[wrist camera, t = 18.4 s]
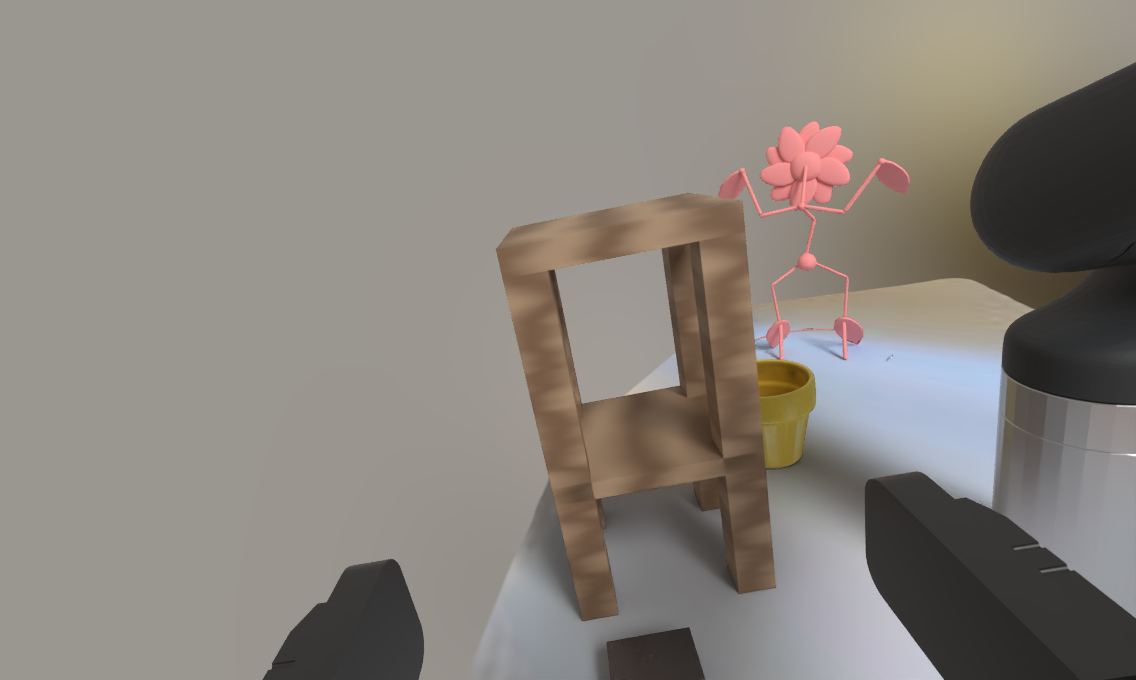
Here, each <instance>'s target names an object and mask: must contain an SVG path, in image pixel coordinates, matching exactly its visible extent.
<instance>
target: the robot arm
mask: <svg viewBox="0 0 1136 680" xmlns="http://www.w3.org/2000/svg"><path fill="white" fill-rule="evenodd" d="M970 210H971V217H972V222H973V225H974V228H975V230H976V232H977V233H978V235H979V237H980V239H981V240H982V241H983V243H984V244H985V245H986V246H987V248H988V249H989V250H990V251H992V252H993V253H994V254H995V255H997V256H998V257H999V258H1001V259H1003V260H1004V261H1006V262H1008V263H1010V264H1012V265H1015V266H1018V267H1021V268H1024V269H1027V270H1032V271H1040V272H1049V273H1060V272H1076V271H1085V270H1092V269H1093V270H1092V272H1091V273H1090V274H1089V275H1088V276H1087V277H1086V278H1085V280H1083V281H1082V282H1081V283H1080V284H1079V285H1077V286H1076V287H1075V288H1073V289H1072V290H1071V291H1069V292H1068V293H1066V294H1064V295H1063V296H1061V297H1059V298H1058V299H1056V300H1054V301H1052V302H1050V303H1048V304H1046V305H1044V306H1042V307H1040V308H1038V309H1036V310H1033V311H1031V312H1029V313H1027V314H1025V315H1023V316H1021V317H1020V318H1018V319H1017V320H1015V321H1014V322H1013V323H1012V324H1011V325H1010V326H1009V328H1008V329H1007V331H1006V333H1005V336H1004V342H1003V351H1002V365H1001V380H1000V395H999V412H998V427H997V442H996V457H995V471H994V486H993V501H992V510H991V509H989V508H987V507H985V506H983V505H981V504H978V503H976V502H974V501H972V500H970V499H968V498H960V499H954V498H953V497H951V496H950V495H949V494H948V493H947V492H945V491H944V490H943V489H942V488H941V487H940V486H938V485H937V484H936V483H935V482H934V481H932V480H931V479H930V478H929V477H928V476H926V475H925V474H923V473H921V472H910V473H904V474H899V475H893V476H887V477H881V478H875V479H870V480H868V482H867V483H866V486H865V534H866V559H867V564H868V568H869V571H870V574H871V577H872V579H873V581H874V584H875V585H876V587H877V589H878V591H879V593H880V594H881V596H882V597H883V598H884V600H885V601H886V603H887V604H888V605H889V607H890V608H891V609H892V611H893V612H894V613H895V615H896V616H897V617H898V619H899V620H900V621H901V623H902V624H903V625H904V627H905V628H906V629H907V631H908V632H909V633H910V635H911V636H912V637H913V639H914V640H915V641H916V643H917V644H918V645H919V647H920V648H921V649H922V651H923V652H924V653H925V655H926V656H927V657H928V659H929V660H930V661H931V663H932V664H933V665H934V667H935V668H936V669H937V671H938V672H939V673H940V675H941V676H942V677H943V679H944V680H1136V63H1133V64H1131V65H1129V66H1127V67H1125V68H1123V69H1121V70H1119V71H1117V72H1115V73H1113V74H1111V75H1109V76H1106V77H1104V78H1102V79H1100V80H1098V81H1096V82H1094V83H1092V84H1090V85H1088V86H1086V87H1084V88H1082V89H1079V90H1077V91H1075V92H1073V93H1071V94H1069V95H1067V96H1065V97H1062V98H1060V99H1058V100H1056V101H1054V102H1052V103H1050V104H1048V105H1046V106H1044V107H1042V108H1039V109H1038V110H1036V111H1034V112H1032V113H1030V114H1028V115H1027V116H1025V117H1024V118H1022V119H1021V120H1019V121H1018V122H1017V123H1015V124H1014V125H1013V126H1012V127H1011V128H1009V129H1008V130H1007V131H1006V132H1005V133H1004V134H1003V135H1002V136H1001V137H1000V138H999V139H998V141H997V142H996V143H995V144H994V145H993V147H992V148H991V150H990V151H989V152H988V154H987V155H986V157H985V159H984V160H983V162H982V165H981V167H980V169H979V171H978V173H977V175H976V177H975V180H974V184H973V187H972V193H971V201H970ZM423 655H424V639H423V631H422V626H421V623H420V620H419V618H418V615H417V612H416V610H415V607H414V604H413V601H412V598H411V596H410V593H409V590H408V587H407V585H406V582H405V579H404V576H403V574H402V571H401V568H400V566H399V564H398V563H397V562H396V561H395V560H393V559H390V560H383V561H377V562H371V563H365V564H360V565H354V566H349V567H348V568H346V569H345V570H344V572H343V574H342V575H341V577H340V579H339V581H338V583H337V584H336V586H335V588H334V590H333V592H332V594H331V596H330V597H329V600H328V601H327V602H326V603H320V604H317V605H316V606H315V607H314V608H313V609H312V610H311V611H310V612H309V613H308V614H307V615H306V616H305V617H304V619H302V620H301V622H300V623H299V624H298V625H297V626H296V627H295V628H294V629H293V630H292V631H291V632H290V634H289V635H288V637H287V639H286V640H285V642H284V644H283V646H282V647H281V649H280V651H279V652H278V654H277V656H276V658H275V659H274V661H273V663H272V669H271V670H268V671H267V673H266V675H265V677H264V678H263V680H418V679H419V675H420V672H421V668H422V663H423Z"/></svg>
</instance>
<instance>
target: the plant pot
mask: <svg viewBox="0 0 1136 680" xmlns="http://www.w3.org/2000/svg"><path fill="white" fill-rule="evenodd" d="M756 364H757V375H758V387H759V398H760V410H761V422H762V433H763V445H764V456H765V468H782V467H786V466H790V465H792V464H794V463H796V462H797V461H798V460H799V459H800V458H801V456H802V452H803V446H804V440H805V434H806V428H807V422H808V416H809V413H810V412H811V411H812V410H813V409H814V407H815V404H816V388H815V378H814V374H813V373H812V371H811V370H810V369H809V368H807V367H806V366H804V365H802V364H799V363H796V362H793V361H787V360H779V359H763V360H756Z"/></svg>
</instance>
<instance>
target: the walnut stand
mask: <svg viewBox="0 0 1136 680" xmlns="http://www.w3.org/2000/svg"><path fill="white" fill-rule="evenodd" d="M661 248H662V254H663V262H664V269H665V277H666V284H667V291H668V299H669V306H670V313H671V321H672V328H673V336H674V343H675V350H676V358H677V365H678V372H679V380H680V386H676V387H670V388H665V389H659V390H654V391H649V392H643V393H638V394H633V395H627V396H622V397H617V398H611V399H606V400H601V401H595V402H590V403H585V404H582V403H581V398H580V393H579V388H578V383H577V378H576V373H575V368H574V363H573V358H572V354H571V348H570V343H569V338H568V333H567V329H566V323H565V319H564V313H563V308H562V303H561V299H560V294H559V289H558V284H557V279H556V274H555V269H558V268H564V267H569V266H574V265H579V264H584V263H590V262H594V261H600V260H605V259H610V258H615V257H620V256H625V255H630V254H635V253H640V252H646V251H651V250H656V249H661ZM496 252H497V256H498V260H499V265H500V269H501V273H502V278H503V282H504V286H505V290H506V295H507V299H508V303H509V308H510V312H511V316H512V321H513V325H514V329H515V333H516V338H517V342H518V346H519V350H520V355H521V359H522V364H523V368H524V372H525V376H526V381H527V385H528V389H529V394H530V398H531V402H532V406H533V411H534V415H535V419H536V424H537V428H538V432H539V436H540V441H541V445H542V449H543V453H544V458H545V462H546V467H547V470H548V475H549V479H550V484H551V488H552V492H553V497H554V501H555V505H556V509H557V514H558V518H559V522H560V527H561V531H562V535H563V540H564V544H565V548H566V552H567V557H568V561H569V565H570V570H571V574H572V578H573V582H574V587H575V591H576V595H577V600H578V604H579V608H580V612H581V617H582V621H585V620H591V619H597V618H603V617H608V616H614V615H618V609H617V602H616V595H615V588H614V583H613V578H612V573H611V568H610V564H609V559H608V554H607V549H606V544H605V539H604V534H603V529H605V528H606V527H605V520H604V513H603V508H602V503H601V498H605V497H611V496H616V495H622V494H627V493H633V492H638V491H644V490H649V489H655V488H661V487H666V486H672V485H677V484H683V483H688V482H693V483H694V490H695V495H696V497H697V499H698V502H699V504H700V506H701V509H702V511H706V510H711V509H717V508H720V509H721V517H722V525H723V534H724V542H725V550H726V559H727V567H728V570H729V572H730V574H731V576H732V579H733V581H734V583H735V586H736V588H737V590H738V592H739V594H742V593H747V592H753V591H759V590H765V589H771V588H776V584H775V572H774V561H773V549H772V538H771V526H770V514H769V503H768V491H767V480H766V468H765V456H764V445H763V433H762V422H761V410H760V398H759V387H758V375H757V364H756V352H755V341H754V329H753V317H752V306H751V295H750V283H749V272H748V261H747V260H748V259H747V248H746V236H745V225H744V213H743V203H742V201H740V200H734V199H727V198H720V197H713V196H705V195H699V194H692V193H686V194H682V195H676V196H671V197H666V198H661V199H656V200H651V201H646V202H641V203H636V204H630V205H625V206H620V207H616V208H610V209H605V210H601V211H595V212H590V213H585V214H580V215H575V216H570V217H565V218H561V219H555V220H550V221H545V222H540V223H535V224H530V225H525V226H520V227H515V228H512V229H511V230H510V232H509V233H508V234H507V236H506V237H505V238H504V239H503V241H502V242H501V244H500V245H499V246H498V247H497V249H496Z"/></svg>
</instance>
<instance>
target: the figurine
mask: <svg viewBox="0 0 1136 680" xmlns="http://www.w3.org/2000/svg"><path fill="white" fill-rule="evenodd" d="M841 132H842V131H841V129H840V127H836V126H832V127H826V128H824V129H822V130H819V124H818V123H817V122H811V123H809V124H807V125H806V126H805V127H804V128H802V130H801V131H800V133H799V134H798V133H797V132H796V131H795V130H794V129H792V128H790V127H785V128H783V130H782V131H781V133H780V136H779V139H778V147H769V148H768V149H767V150H766V157H767V161H768V162H769V164H770V165H771V166H769V167H767V168H765V169H764V170H763V171H762V172H761V173H760V178H761V179H762V181H764V182H765V183H767V184H769V185H773V186H775V187H774V188H773V189H772V190H771V198H772V200H775V201H779V200H786V199H790V205H791V207H789V208H785V209H781V210H777V211H772V212H768V213H764V214H762V212H761V209H760V207H759V205H758V202H757V200H756V198H755V195H754V193H753V191H752V188H751V186H750V184H749V182H748V179H747V174H746V173H745V169H744V168H741V169H740V170H739V171H736V172H734V173H732V174H731V175H730V176H729V177H728V178H727V179H726V180H725V181H724V183H723V184H722V185H721V187H720V191H719V194H718V196H719V197H720V198H727V199H734V198H736V197H737V196H738V195H739V194H740V192H741V191H742V190H743V188H744V186H745V184H746V186H747V188H748V191H749V193H750V195H751V198H752V200H753V202H754V204H755V207H756V209H757V211H758V214H759V215H760V214H762V215H761V218H762V217H766V216H770V215H774V214H779V213H783V212H787V211H790V210H796V211H797V210H800V211H802V210H803V212H804V213H805V214H806V215H807V216H808V217H809V218H810V219H811V220H812V223H811V228H810V233H809V238H808V243H807V248H806V253H804V254H803V255H801V256H800V257H799V259H798V265H797V266H795V267H794V268H793V269H791V270H790V271H788V272H787V273H786V274H785V275H783V276H782V277H781V278H779V279H778V280H777V281H775V282H774V283H773V284H772V286H771V289H772V294H773V299H774V304H775V309H776V314H777V319H778V322H776V323H774V324H773V326H772V327H771V328H770V329H769V330H768V332H767V335H766V336H764V337H766V338H767V341H768V343H769V344H770V346H771V347H772V348H774V347H776V346H777V345H778V344H779V350H780V360H783V340H784V339H785V338H786V337H787V335H788V334H789V332H794V331H790V325H789V322H788V321H786V320H783V321H781V320H780V316H779V311H778V306H777V301H776V296H775V291H774V286H773V285H775V284H776V283H777V282H779V281H780V280H781V279H783V278H784V277H786V276H787V275H788V274H790V273H791V272H792V271H794V270H795V269H796V268H798V267H799V268H800V269H801V270H804V271H809V270H812V269H813V268H814V267H815V265H817V266H820V267H822V268H824V269H827V270H829V271H831V272H833V273H836V274H838V275H840V276H843V277H845V278H846V288H845V302H844V316H843V318H842V319H841V318H838V319H837V320H835V324H834V329H813V328H811V329H809V330H835V331H836V333H837V334H838V335H839V336H840V337H841V338H843V359H847V341H849V342H851V343H854V344H857V345H858V343H859V342H860V340H861V338H862V337H863V328H862V327H861V326H860V324H859V323H857V322H856V321H854V320H853V319H851V318H846V313H847V298H848V284H849V278H847V277H848V276H846V275H844V274H842V273H840V272H837V271H835V270H833V269H830V268H828V267H826V266H823V265H821V264H819V263H817V262H816V258H815V257H814V256H813V255H812V254H809V253H808V251H809V247H810V243H811V239H812V235H813V231H814V227H815V223H816V221H815V219H816V218H815V217H814V216H812V214H811V213H809V212H808V211H807V210H806V209H805V208H807V209H812V210H819V211H826V212H832V213H838V214H845V211H848V209H849V208H850V207H851V205H852V204H853V203H854V201H855V200H856V199H857V197H858V196H859V195H860V193H861V192H862V191H863V189H864V188H865V186H866V185H867V184H868V182H869V181H870V180H871V179H872V177H873V176H874V175H875V174H876V176H877V177H878V179H879V181H881V182H882V183H883V184H884V185H885V186H887V187H889V188H891V189H893V190H895V191H897V192H899V193H902V194H905V192H906V191H907V189H908V186H909V183H910V180H909V176H908V174H907V173H906V171H905V170H904V169H903V168H902V167H900V166H899V165H897V164H896V163H894V162H891V161H888V160H885V159H884V158H880V159H879V160H878V163H877V164H876V165H875V168H874V169H873V171H872V172H871V173H870V175H869V176H868V177H867V179H866V180H865V182H864V183H863V184H862V186H861V187H860V188H859V190H858V191H857V192H856V194H855V195H854V196H853V198H852V199H851V200H850V202H849V203H848V205H847V206H846V207H845V209H844V210H838V209H831V208H825V207H817V206H810V205H807V204H808V203H809V202H810V201H811V200H812V198H813V199H814V200H815V201H816V202H817V203H819V204H827V203H828V202H829V200H830V198H831V195H832V188H833V185H839V186H841V185H846V184H847V183H848V182H849V181H850V174H849V172H848V169H847V168H846V167H845V165H844V163H846V162H848V161H849V160H850V159H851V158H852V155H853V153H852V152H851V150H849V149H848V148H846V147H844V146H840V145H836V144H837V142H838V140H839V139H840V136H841ZM796 331H805V330H796ZM764 337H761V338H764ZM761 338H758V339H761ZM758 339H756V340H758ZM892 356H893V355H892ZM892 356H891V357H892ZM890 359H891V358H890Z"/></svg>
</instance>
